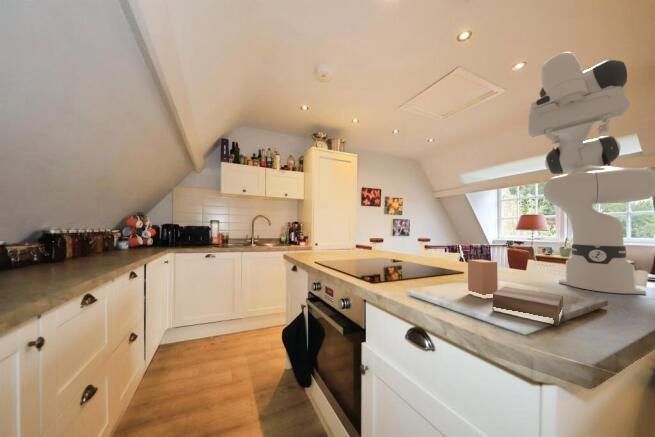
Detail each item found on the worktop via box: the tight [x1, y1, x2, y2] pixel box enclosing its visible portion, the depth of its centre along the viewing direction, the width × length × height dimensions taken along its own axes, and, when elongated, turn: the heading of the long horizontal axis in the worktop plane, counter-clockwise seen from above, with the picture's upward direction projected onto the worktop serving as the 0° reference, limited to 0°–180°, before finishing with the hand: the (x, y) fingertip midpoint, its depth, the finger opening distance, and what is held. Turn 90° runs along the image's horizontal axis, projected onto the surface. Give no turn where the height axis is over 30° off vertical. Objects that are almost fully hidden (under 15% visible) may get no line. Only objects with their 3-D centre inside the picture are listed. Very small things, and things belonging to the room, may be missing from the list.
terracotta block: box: [467, 259, 499, 295], centre depth 68 cm, size 5×5×10 cm
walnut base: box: [492, 286, 564, 327], centre depth 55 cm, size 11×11×4 cm
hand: (579, 137), depth 67 cm, fingers open, 8 cm apart
